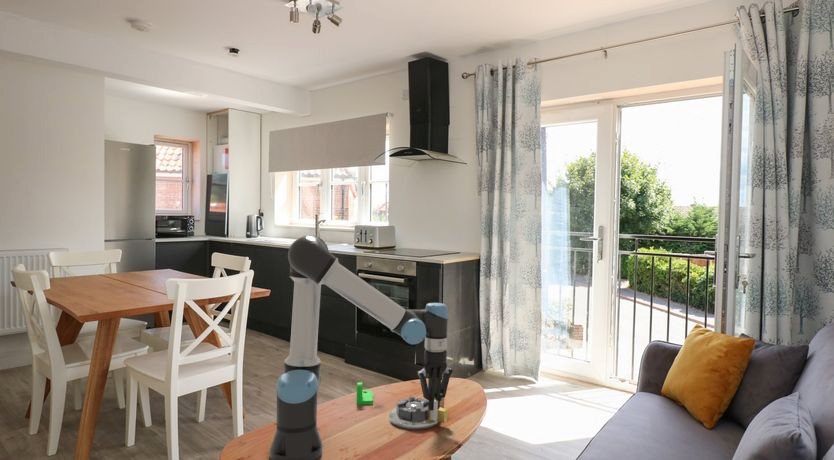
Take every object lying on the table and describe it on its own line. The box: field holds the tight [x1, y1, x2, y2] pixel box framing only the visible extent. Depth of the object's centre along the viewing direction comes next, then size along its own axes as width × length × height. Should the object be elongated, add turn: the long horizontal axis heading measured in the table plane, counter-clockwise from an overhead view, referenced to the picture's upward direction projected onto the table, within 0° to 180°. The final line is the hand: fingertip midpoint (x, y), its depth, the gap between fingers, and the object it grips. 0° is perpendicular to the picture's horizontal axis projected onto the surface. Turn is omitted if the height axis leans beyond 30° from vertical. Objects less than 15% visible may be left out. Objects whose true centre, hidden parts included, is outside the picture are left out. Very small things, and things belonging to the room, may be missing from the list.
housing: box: [388, 397, 445, 431], centre depth 171 cm, size 21×18×6 cm
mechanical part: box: [356, 381, 374, 406], centre depth 188 cm, size 12×6×8 cm, turn 5°
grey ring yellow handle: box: [395, 395, 449, 424], centre depth 169 cm, size 19×12×4 cm, turn 57°
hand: (433, 419), depth 163 cm, fingers closed
